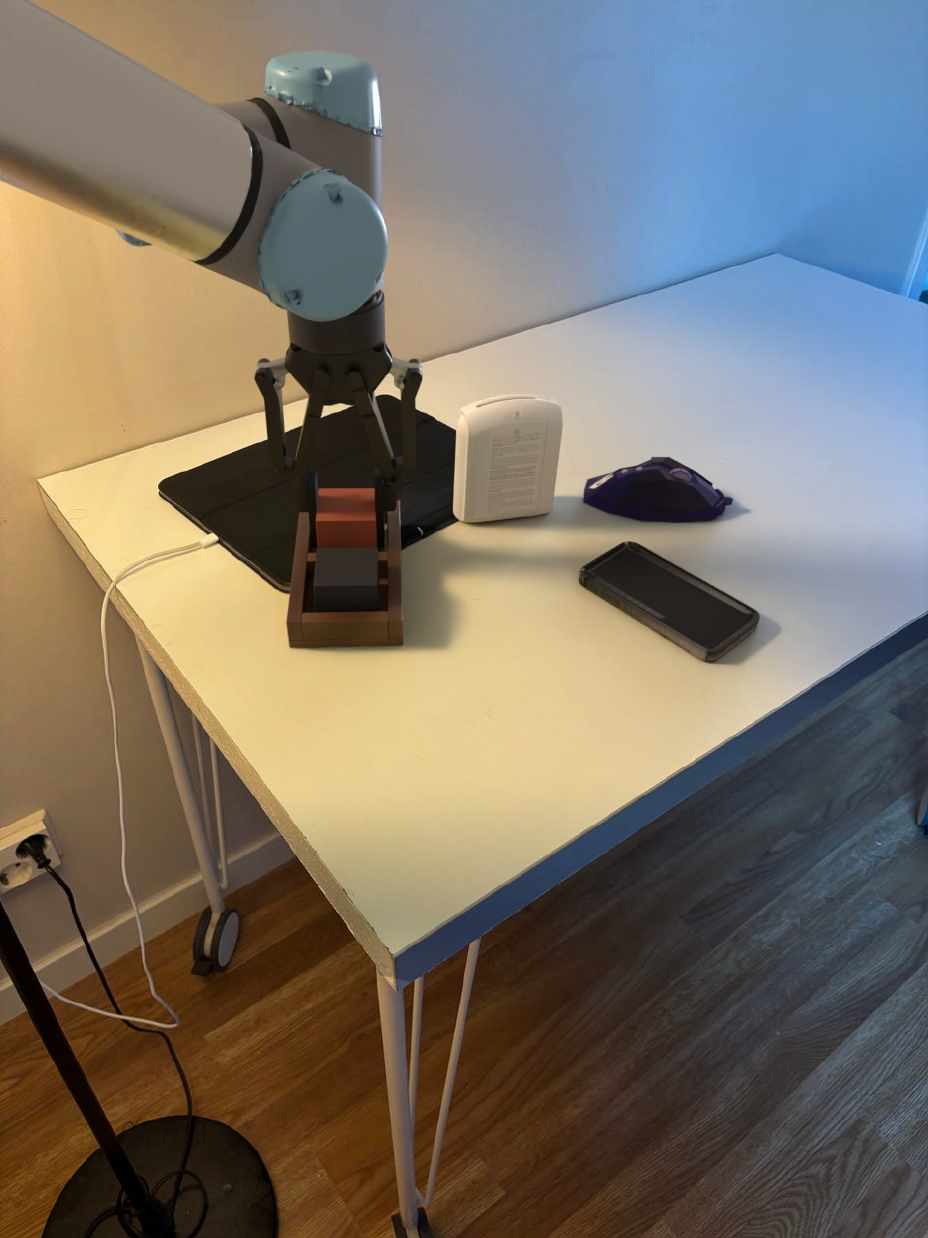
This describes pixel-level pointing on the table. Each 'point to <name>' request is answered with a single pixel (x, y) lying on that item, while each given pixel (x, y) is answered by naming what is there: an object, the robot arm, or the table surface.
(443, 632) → the table surface
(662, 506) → the computer mouse
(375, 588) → the black block
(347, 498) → the pad
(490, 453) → the photo printer
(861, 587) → the table surface
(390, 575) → the frame
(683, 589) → the phone
